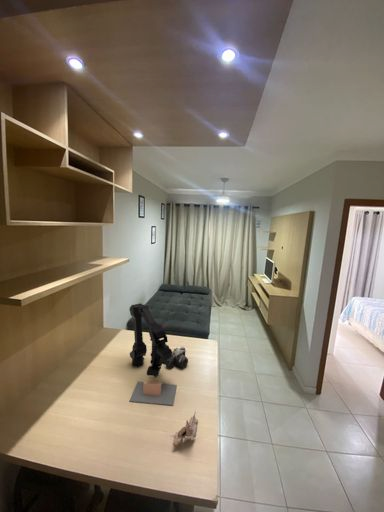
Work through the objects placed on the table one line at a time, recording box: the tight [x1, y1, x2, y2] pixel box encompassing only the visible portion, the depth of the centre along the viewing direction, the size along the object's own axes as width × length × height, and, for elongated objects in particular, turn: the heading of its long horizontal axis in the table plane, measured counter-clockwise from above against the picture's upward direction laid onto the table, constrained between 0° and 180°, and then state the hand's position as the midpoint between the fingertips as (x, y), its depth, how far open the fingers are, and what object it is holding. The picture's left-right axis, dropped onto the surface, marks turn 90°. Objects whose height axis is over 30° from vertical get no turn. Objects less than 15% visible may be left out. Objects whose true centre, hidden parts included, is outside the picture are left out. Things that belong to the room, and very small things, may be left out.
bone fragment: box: [172, 411, 199, 447], centre depth 93 cm, size 16×7×10 cm
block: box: [143, 380, 163, 396], centre depth 114 cm, size 9×2×6 cm, turn 87°
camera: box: [165, 346, 189, 370], centre depth 139 cm, size 16×10×10 cm, turn 138°
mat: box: [129, 381, 178, 407], centre depth 115 cm, size 22×14×1 cm, turn 87°
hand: (155, 376), depth 122 cm, fingers closed
